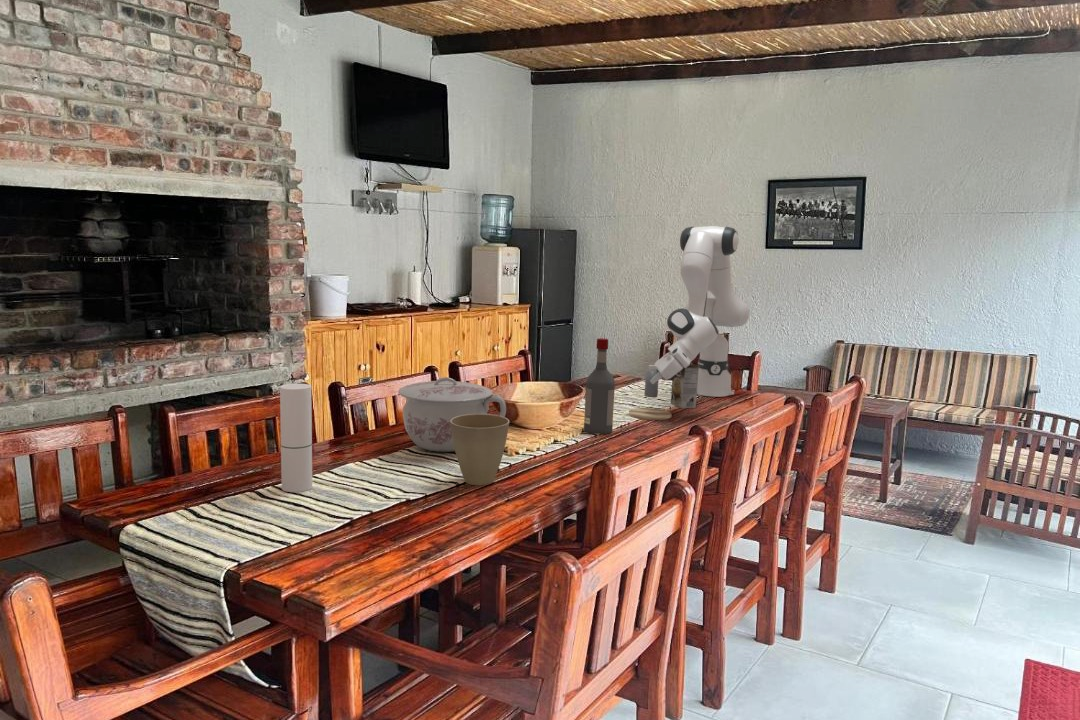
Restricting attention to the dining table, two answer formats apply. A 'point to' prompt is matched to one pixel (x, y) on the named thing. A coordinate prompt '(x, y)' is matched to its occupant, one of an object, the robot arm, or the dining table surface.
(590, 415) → the liquor
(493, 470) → the plant pot
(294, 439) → the cylindrical container
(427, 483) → the dining table surface
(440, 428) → the chamber pot
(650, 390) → the small gray bottle
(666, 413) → the trivet
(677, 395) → the coffee box
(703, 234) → the robot arm
